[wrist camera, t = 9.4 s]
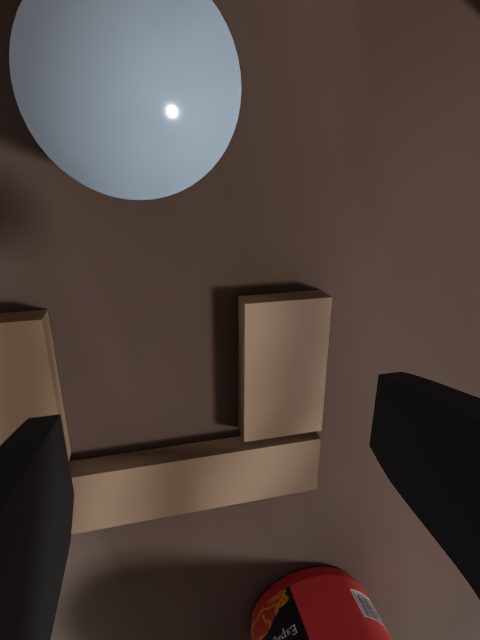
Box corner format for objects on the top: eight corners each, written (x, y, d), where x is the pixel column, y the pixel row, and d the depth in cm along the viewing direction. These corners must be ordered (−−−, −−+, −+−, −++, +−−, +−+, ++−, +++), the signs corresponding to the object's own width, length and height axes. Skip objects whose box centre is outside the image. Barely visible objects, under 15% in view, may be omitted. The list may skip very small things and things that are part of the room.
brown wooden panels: (-8, 529, 20) (-16, 550, 19) (-64, 317, 16) (-78, 328, 15) (308, 474, 24) (316, 489, 23) (321, 289, 20) (332, 297, 19)
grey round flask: (208, 187, 17) (241, 198, 12) (61, 188, 16) (30, 202, 11) (202, -97, 14) (243, -237, 9) (18, -123, 13) (-51, -302, 8)
